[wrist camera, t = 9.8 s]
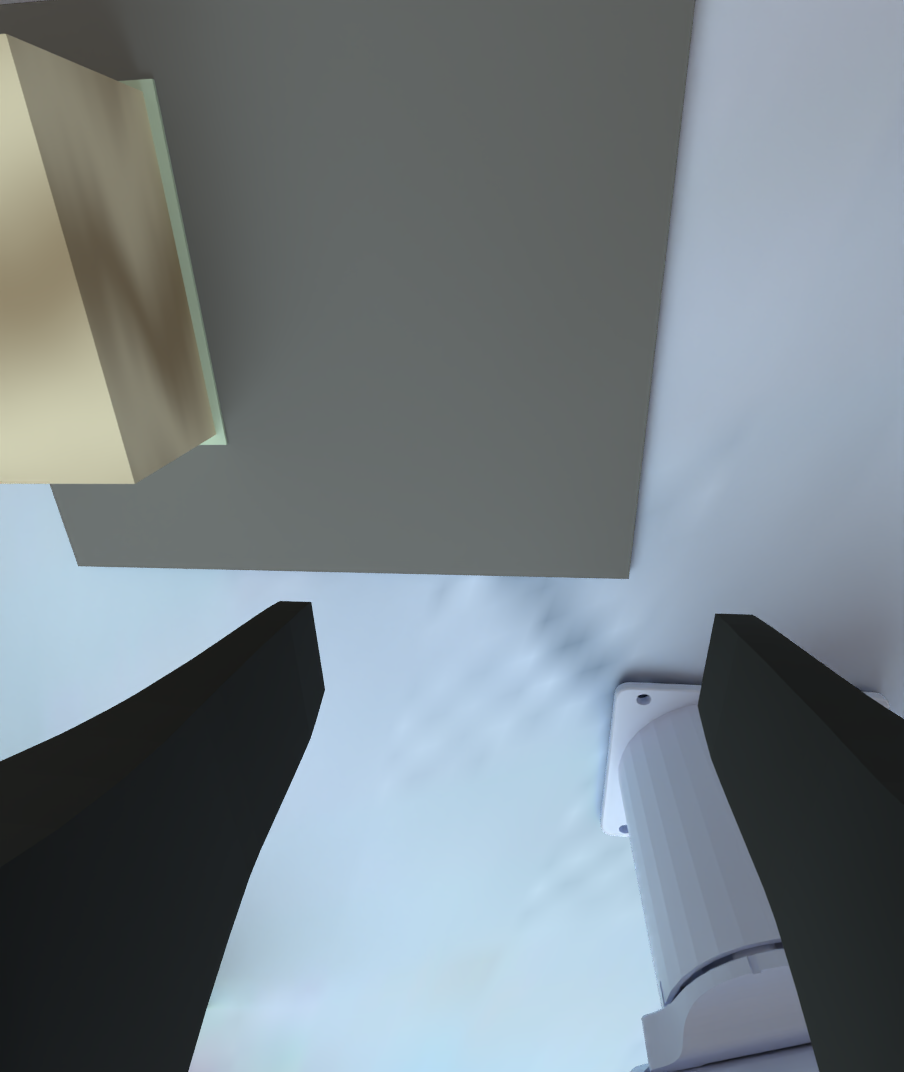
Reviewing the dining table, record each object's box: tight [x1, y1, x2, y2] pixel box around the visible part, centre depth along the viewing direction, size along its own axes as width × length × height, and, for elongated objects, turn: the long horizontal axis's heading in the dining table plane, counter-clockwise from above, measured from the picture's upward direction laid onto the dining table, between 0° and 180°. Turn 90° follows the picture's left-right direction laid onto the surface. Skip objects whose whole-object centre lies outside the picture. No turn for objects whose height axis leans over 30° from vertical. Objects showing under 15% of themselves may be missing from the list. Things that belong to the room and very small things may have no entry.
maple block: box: [0, 34, 216, 484], centre depth 15 cm, size 9×5×4 cm, turn 2°
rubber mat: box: [0, 0, 695, 579], centre depth 18 cm, size 20×16×1 cm
